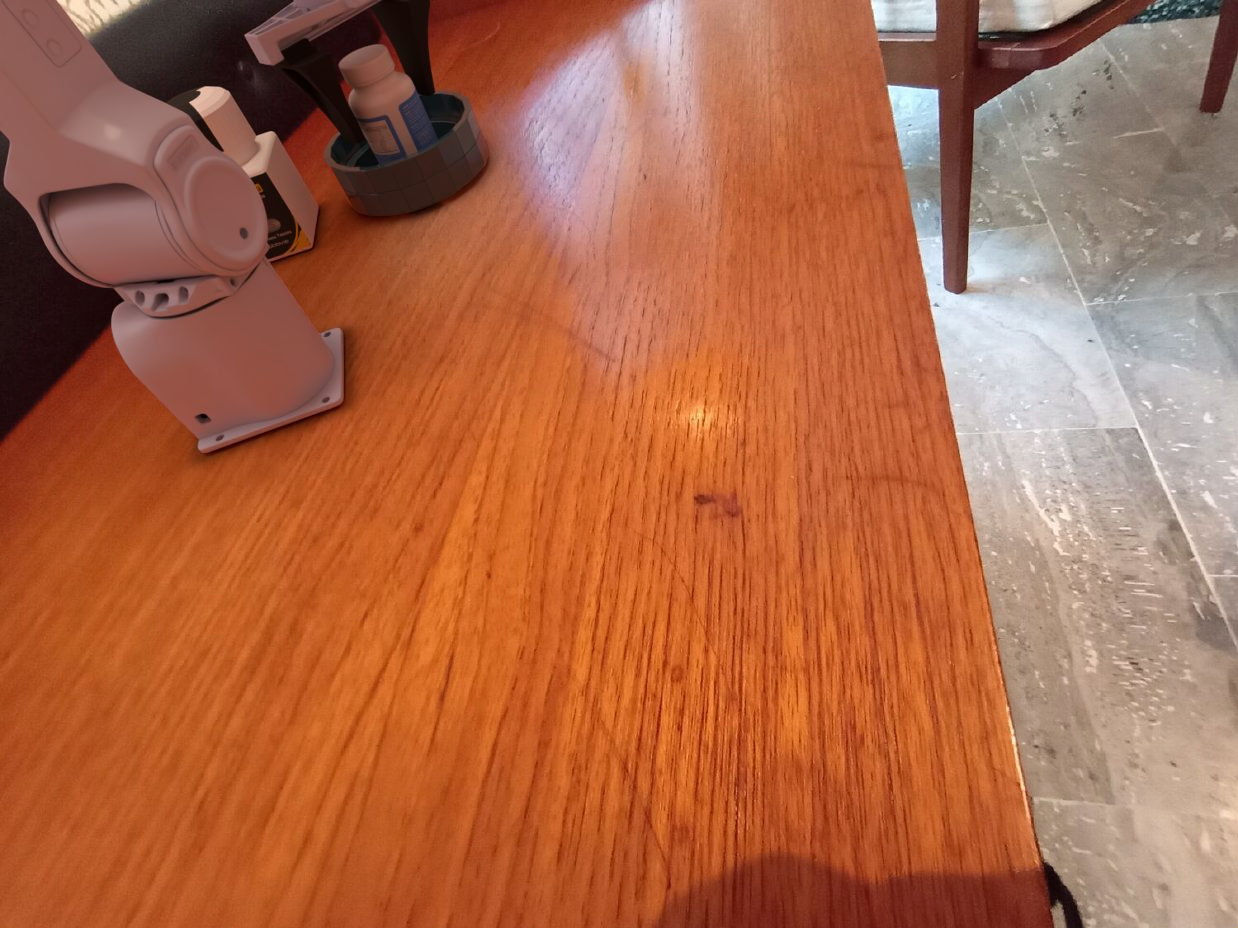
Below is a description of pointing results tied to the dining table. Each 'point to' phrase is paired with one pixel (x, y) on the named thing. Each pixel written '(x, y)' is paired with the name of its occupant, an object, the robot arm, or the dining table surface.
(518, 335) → the dining table surface
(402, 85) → the pill bottle
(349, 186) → the bowl
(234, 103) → the medicine bottle
